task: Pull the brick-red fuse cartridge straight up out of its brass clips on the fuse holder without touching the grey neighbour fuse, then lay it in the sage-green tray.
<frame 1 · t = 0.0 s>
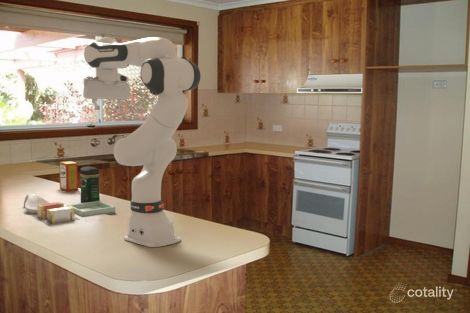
hand: (107, 109, 202), 48 cm above the countertop, fingers open, 8 cm apart
tray: (91, 212, 221), on the countertop
coffee jar: (90, 203, 239), on the countertop
baking soda box: (69, 189, 273), on the countertop
fuse holder: (55, 219, 206), on the countertop
spoon rest: (35, 211, 222), on the countertop
fuse: (50, 215, 210), point 1 cm above the countertop, touching fuse holder
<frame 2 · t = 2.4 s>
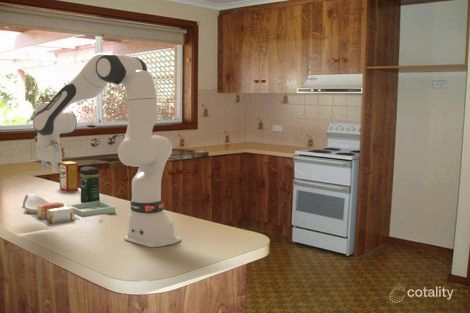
hand: (49, 171, 208), 21 cm above the countertop, fingers open, 8 cm apart
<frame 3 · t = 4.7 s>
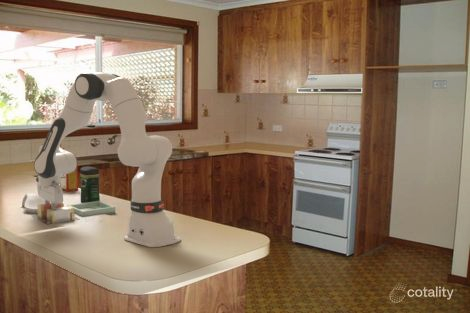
hand: (50, 210, 210), 3 cm above the countertop, fingers closed on fuse, 4 cm apart
fuse: (50, 215, 210), point 1 cm above the countertop, touching fuse holder, gripper
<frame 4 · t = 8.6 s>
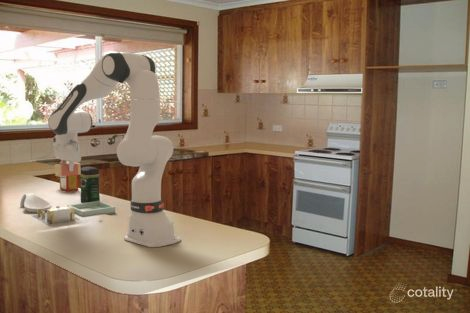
hand: (68, 170, 212), 21 cm above the countertop, fingers closed on fuse, 4 cm apart
fuse: (68, 174, 212), point 18 cm above the countertop, touching gripper
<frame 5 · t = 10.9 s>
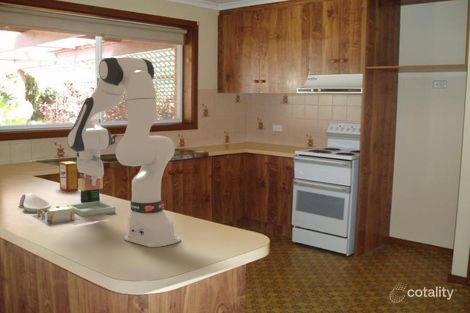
hand: (90, 184, 219), 13 cm above the countertop, fingers closed on fuse, 4 cm apart
fuse: (90, 188, 219), point 11 cm above the countertop, touching gripper
when the fingers open (5 cm above the countertop, at t = 12.8 s): fuse drops 2 cm, resting on tray.
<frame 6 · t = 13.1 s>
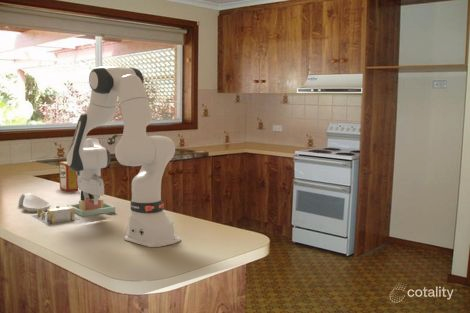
hand: (91, 202, 220), 5 cm above the countertop, fingers open, 7 cm apart
fuse: (91, 210, 220), point 1 cm above the countertop, touching tray
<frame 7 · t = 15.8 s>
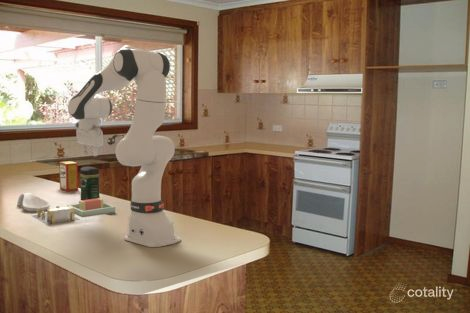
hand: (90, 155, 217), 27 cm above the countertop, fingers open, 8 cm apart
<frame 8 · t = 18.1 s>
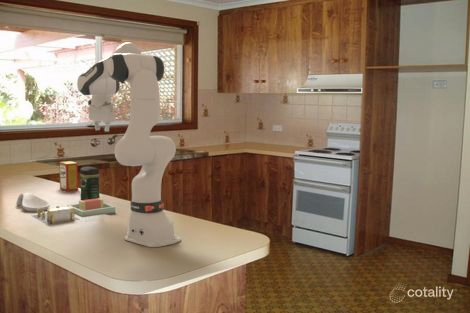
hand: (102, 130, 229), 37 cm above the countertop, fingers open, 8 cm apart
at the end: fuse inside the target area on the tray (0.1 cm from its centre), point 0.8 cm above the tray's base; fuse tilted 0°; the gripper is holding nothing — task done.
